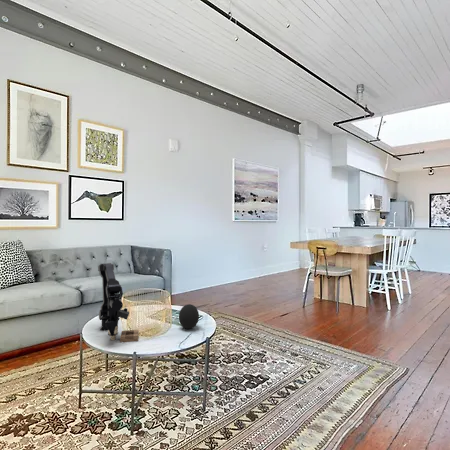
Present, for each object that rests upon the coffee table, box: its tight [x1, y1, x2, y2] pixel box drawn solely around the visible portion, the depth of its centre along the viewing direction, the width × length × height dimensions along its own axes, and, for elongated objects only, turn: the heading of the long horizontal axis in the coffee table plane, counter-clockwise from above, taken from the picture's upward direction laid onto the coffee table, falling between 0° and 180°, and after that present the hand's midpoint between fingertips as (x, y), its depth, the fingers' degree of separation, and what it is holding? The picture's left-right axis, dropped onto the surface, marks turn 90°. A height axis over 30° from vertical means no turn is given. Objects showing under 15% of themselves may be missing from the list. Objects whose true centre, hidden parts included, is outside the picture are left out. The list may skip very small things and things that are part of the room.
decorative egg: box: [178, 303, 200, 330], centre depth 200 cm, size 12×12×15 cm
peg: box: [107, 325, 119, 341], centre depth 181 cm, size 5×5×9 cm
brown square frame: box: [119, 329, 140, 343], centre depth 182 cm, size 9×9×3 cm
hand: (113, 333), depth 181 cm, fingers closed on peg, 5 cm apart
